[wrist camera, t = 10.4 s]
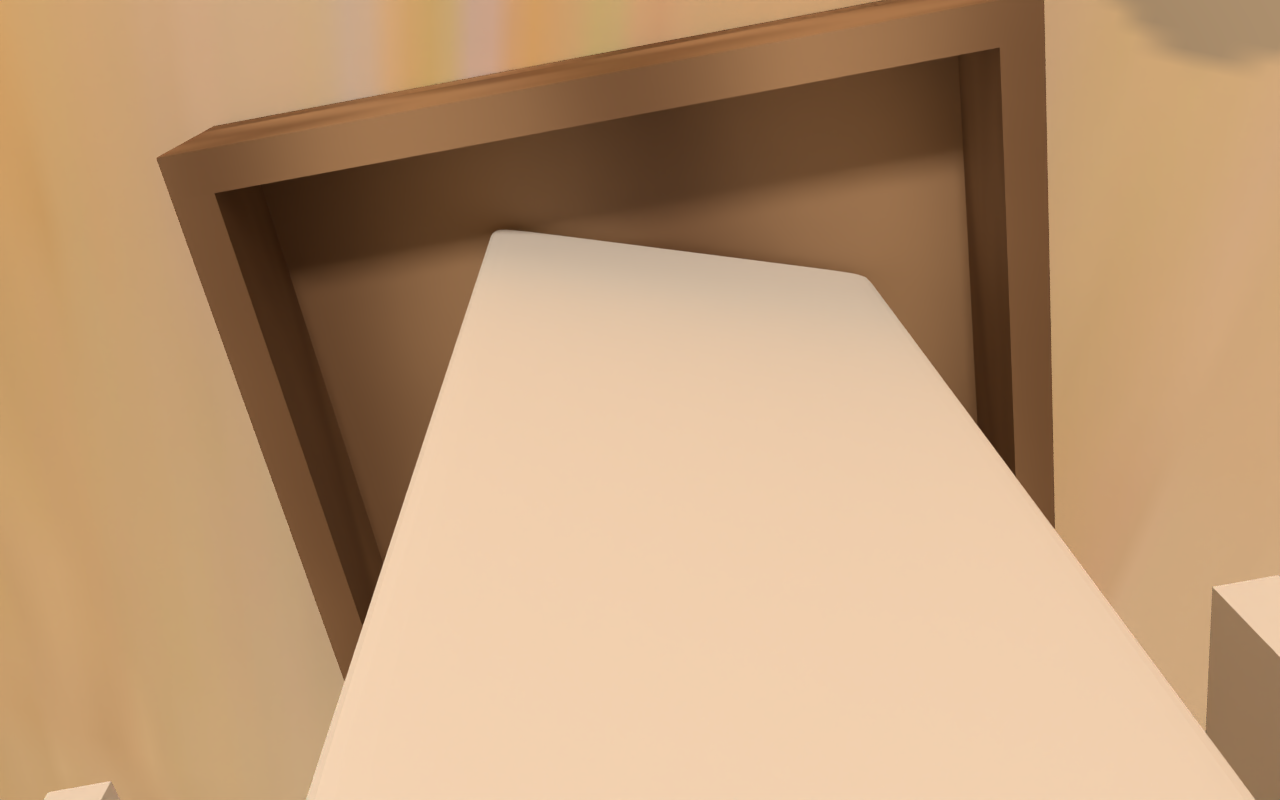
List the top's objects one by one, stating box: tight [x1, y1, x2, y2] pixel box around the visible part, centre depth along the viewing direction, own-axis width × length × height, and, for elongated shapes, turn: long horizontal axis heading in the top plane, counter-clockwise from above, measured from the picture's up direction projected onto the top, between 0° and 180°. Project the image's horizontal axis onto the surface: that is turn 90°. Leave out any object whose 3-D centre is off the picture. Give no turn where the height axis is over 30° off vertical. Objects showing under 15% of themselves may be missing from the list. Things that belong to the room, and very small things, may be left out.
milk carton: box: [306, 230, 1255, 800], centre depth 13 cm, size 7×7×19 cm
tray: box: [157, 0, 1055, 681], centre depth 21 cm, size 14×14×3 cm
